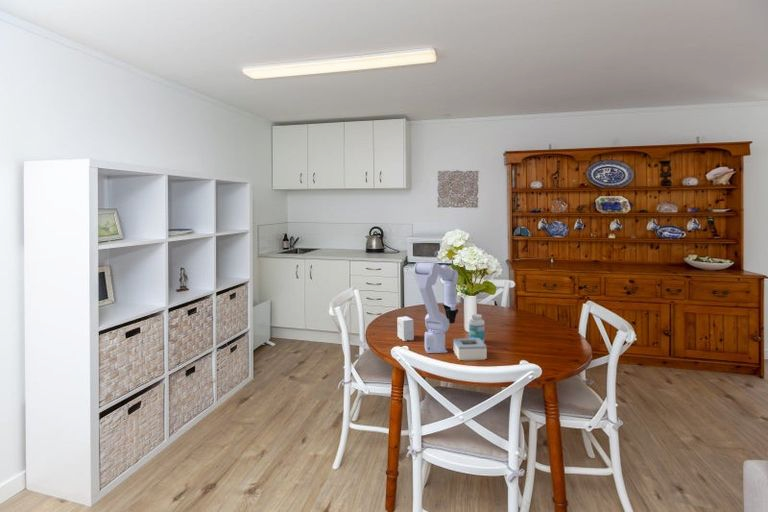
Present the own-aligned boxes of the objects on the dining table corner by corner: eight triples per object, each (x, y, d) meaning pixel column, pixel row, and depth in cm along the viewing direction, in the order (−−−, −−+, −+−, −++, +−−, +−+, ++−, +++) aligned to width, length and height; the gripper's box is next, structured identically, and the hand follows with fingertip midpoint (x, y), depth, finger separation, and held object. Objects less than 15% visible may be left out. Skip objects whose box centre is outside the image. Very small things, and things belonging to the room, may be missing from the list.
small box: (413, 340, 209) (413, 319, 208) (403, 341, 207) (403, 320, 206) (407, 335, 217) (407, 315, 216) (397, 337, 215) (397, 317, 214)
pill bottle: (465, 341, 207) (466, 314, 205) (478, 339, 209) (479, 312, 208) (474, 345, 200) (474, 317, 198) (487, 343, 202) (487, 316, 201)
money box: (458, 360, 180) (459, 347, 179) (453, 351, 192) (453, 338, 191) (486, 359, 180) (486, 346, 180) (479, 350, 192) (479, 337, 192)
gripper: (461, 296, 196) (461, 324, 198) (455, 290, 210) (455, 316, 212) (446, 297, 196) (447, 325, 197) (441, 290, 210) (441, 317, 212)
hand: (450, 320), depth 205 cm, fingers open, 7 cm apart
